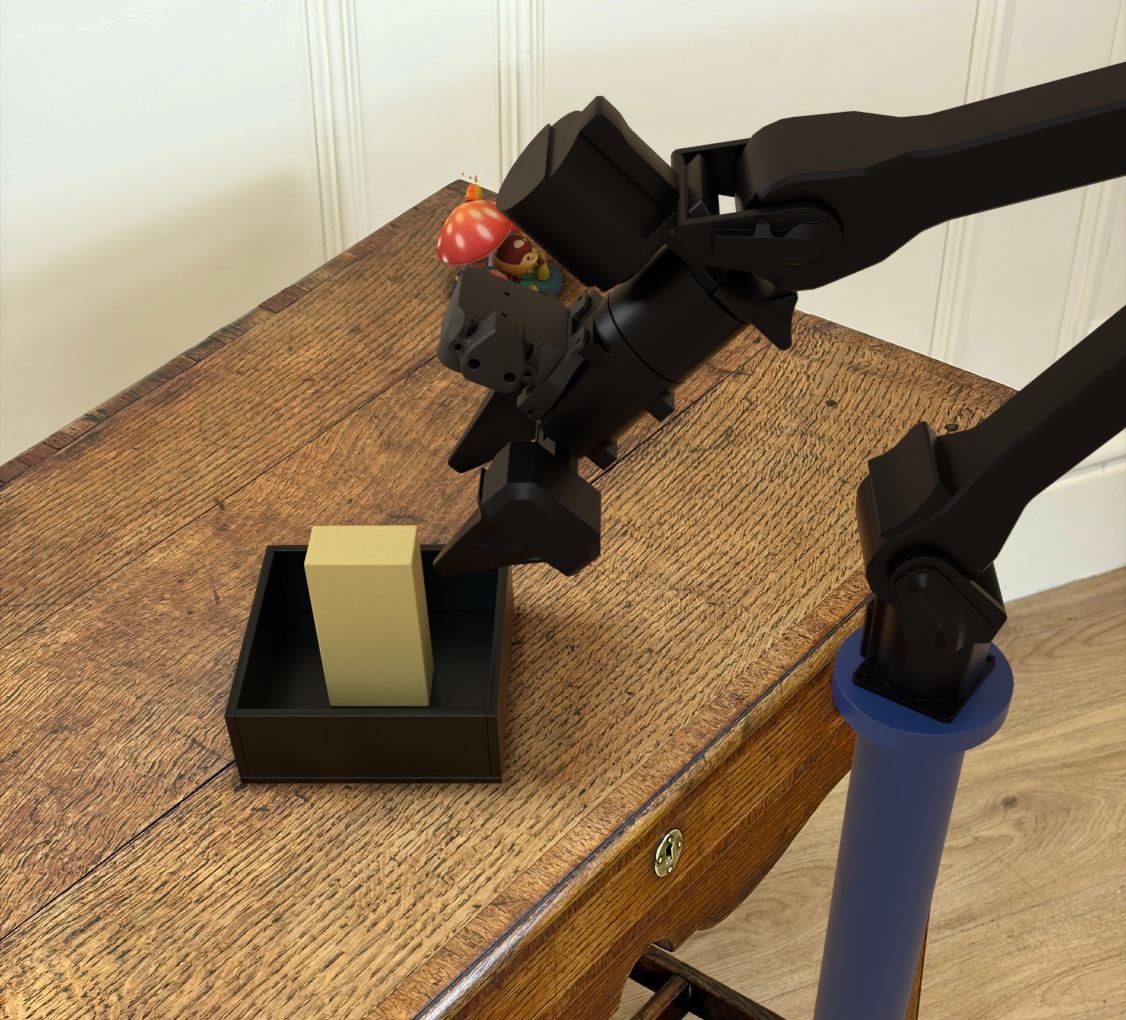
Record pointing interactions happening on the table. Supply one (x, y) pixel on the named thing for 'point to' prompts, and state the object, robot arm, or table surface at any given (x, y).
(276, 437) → the table surface
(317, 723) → the bin
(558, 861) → the table surface
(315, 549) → the block
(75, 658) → the table surface
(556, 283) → the figurine
